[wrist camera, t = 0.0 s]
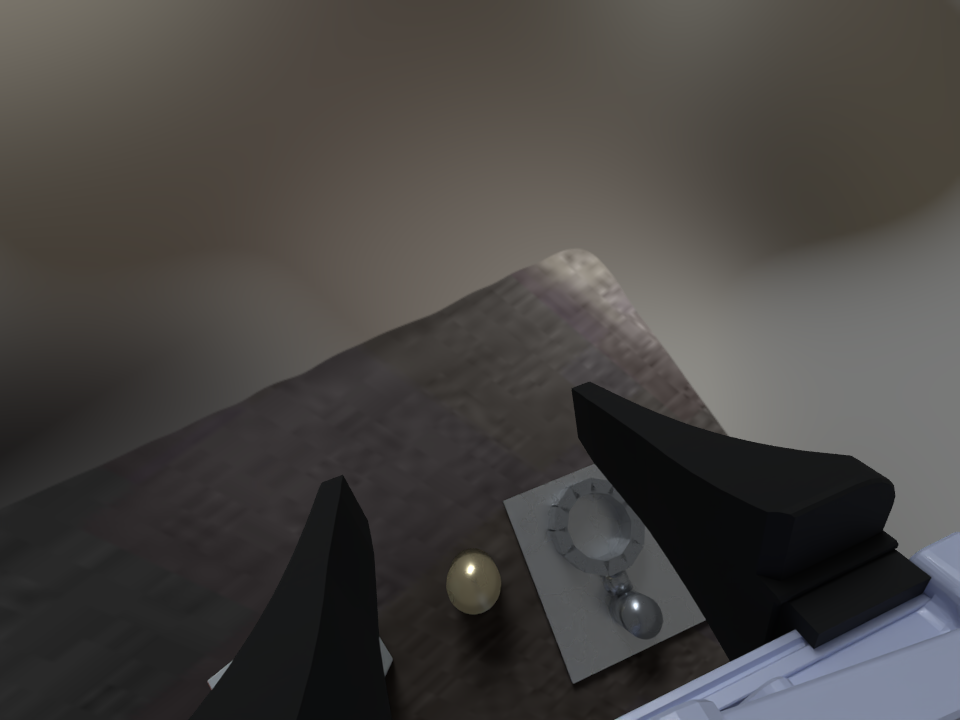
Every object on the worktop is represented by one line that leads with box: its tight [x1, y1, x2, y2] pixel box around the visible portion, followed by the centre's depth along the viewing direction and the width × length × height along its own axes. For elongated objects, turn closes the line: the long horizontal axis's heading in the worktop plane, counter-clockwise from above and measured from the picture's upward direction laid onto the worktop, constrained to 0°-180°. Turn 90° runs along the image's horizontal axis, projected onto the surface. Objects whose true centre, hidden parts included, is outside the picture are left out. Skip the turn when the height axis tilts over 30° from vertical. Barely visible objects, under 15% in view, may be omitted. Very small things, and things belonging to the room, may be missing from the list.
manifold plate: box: [503, 464, 706, 684], centre depth 40 cm, size 16×14×5 cm
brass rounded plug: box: [446, 549, 501, 614], centre depth 39 cm, size 4×4×6 cm
